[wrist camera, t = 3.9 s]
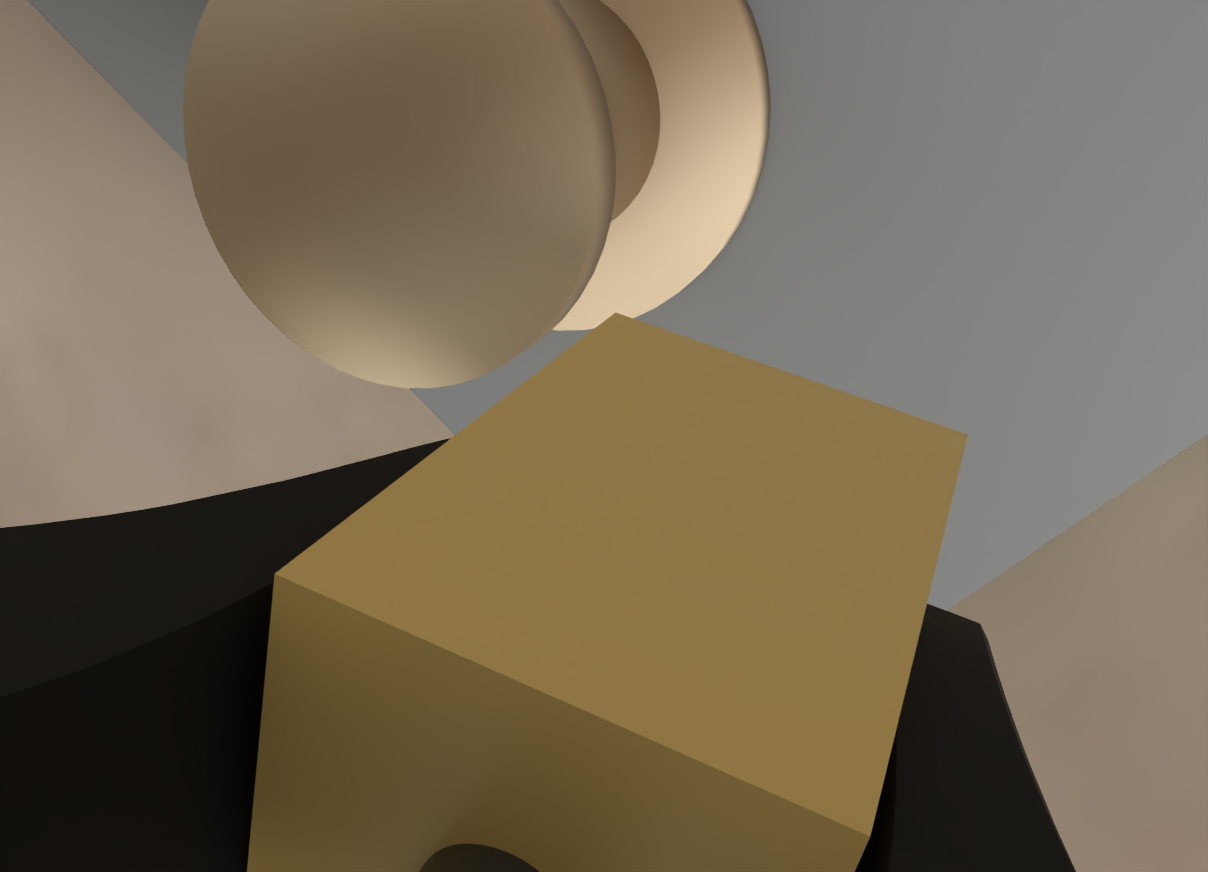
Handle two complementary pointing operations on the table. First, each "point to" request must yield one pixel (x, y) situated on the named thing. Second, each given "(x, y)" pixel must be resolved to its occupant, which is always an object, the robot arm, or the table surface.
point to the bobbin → (469, 166)
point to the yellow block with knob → (610, 629)
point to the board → (925, 235)
